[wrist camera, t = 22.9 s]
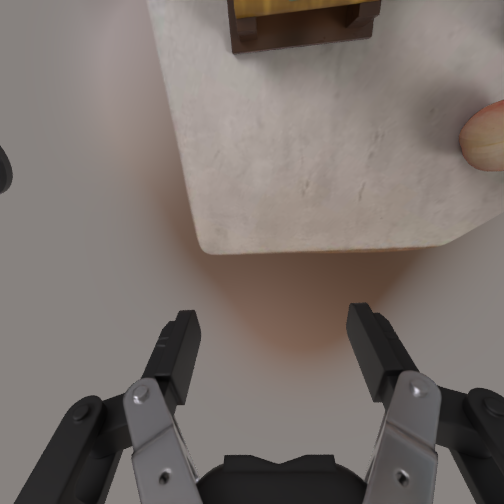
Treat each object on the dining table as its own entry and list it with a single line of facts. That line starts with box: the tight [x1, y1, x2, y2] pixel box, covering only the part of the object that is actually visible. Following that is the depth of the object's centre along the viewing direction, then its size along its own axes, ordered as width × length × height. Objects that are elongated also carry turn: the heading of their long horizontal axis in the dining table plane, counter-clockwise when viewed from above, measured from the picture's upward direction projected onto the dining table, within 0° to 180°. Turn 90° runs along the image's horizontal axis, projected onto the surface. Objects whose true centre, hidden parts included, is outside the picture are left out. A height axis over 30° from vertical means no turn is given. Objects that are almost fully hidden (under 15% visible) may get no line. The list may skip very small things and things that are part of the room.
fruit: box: [459, 100, 504, 171], centre depth 29 cm, size 8×8×8 cm
